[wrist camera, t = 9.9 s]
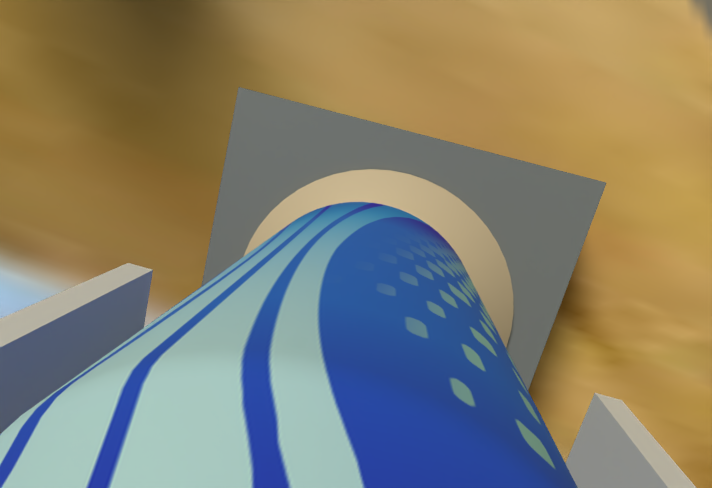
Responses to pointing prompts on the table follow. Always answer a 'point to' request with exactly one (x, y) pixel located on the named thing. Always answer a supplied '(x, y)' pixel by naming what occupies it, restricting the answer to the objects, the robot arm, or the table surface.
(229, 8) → the table surface
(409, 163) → the riser
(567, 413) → the table surface
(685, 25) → the table surface
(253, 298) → the beer can
